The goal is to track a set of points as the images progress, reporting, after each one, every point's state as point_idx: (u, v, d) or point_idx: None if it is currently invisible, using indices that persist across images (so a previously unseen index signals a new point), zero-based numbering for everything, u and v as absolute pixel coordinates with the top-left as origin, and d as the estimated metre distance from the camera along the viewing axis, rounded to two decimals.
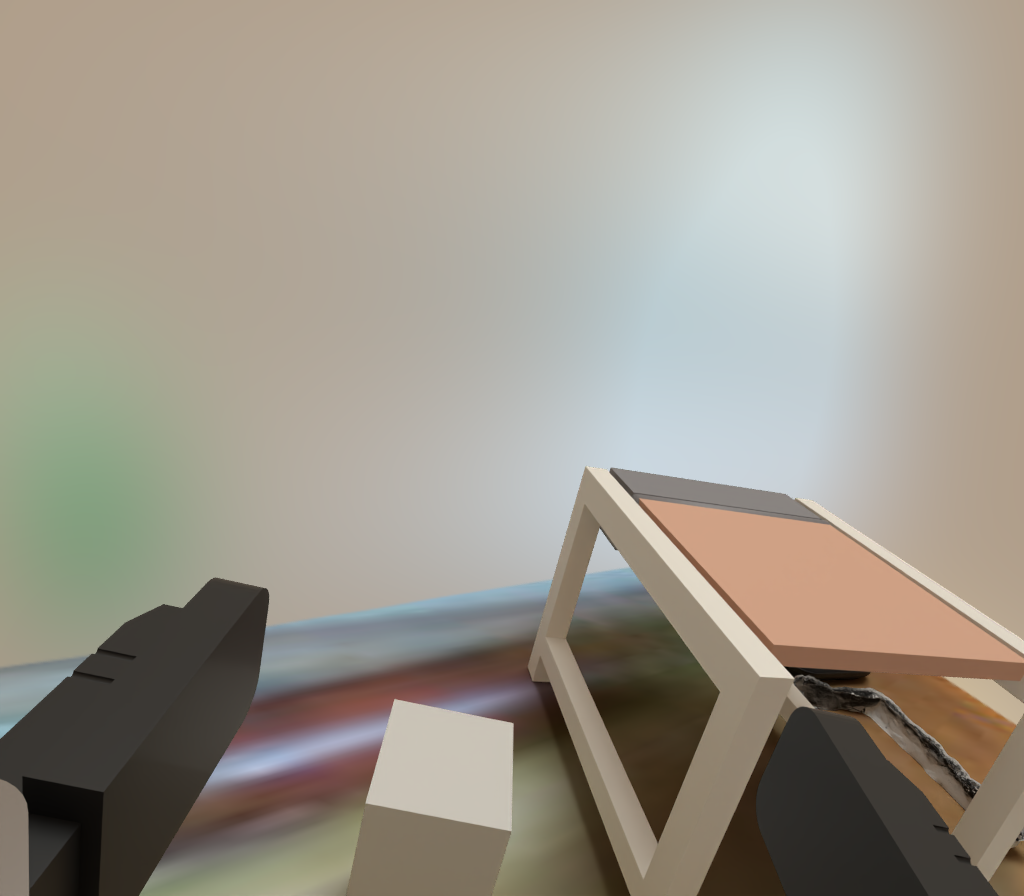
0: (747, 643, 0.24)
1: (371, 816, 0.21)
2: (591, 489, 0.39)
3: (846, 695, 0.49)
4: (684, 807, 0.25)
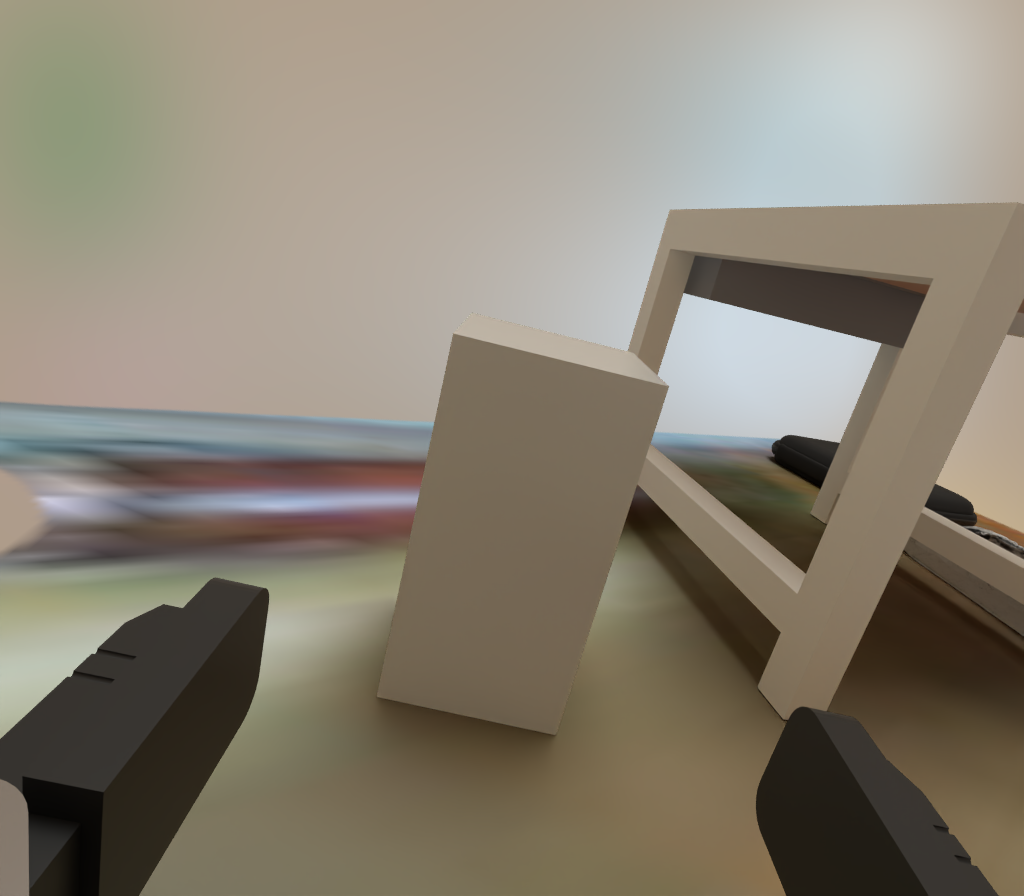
0: None
1: (460, 359, 0.14)
2: (680, 225, 0.32)
3: None
4: (871, 461, 0.18)
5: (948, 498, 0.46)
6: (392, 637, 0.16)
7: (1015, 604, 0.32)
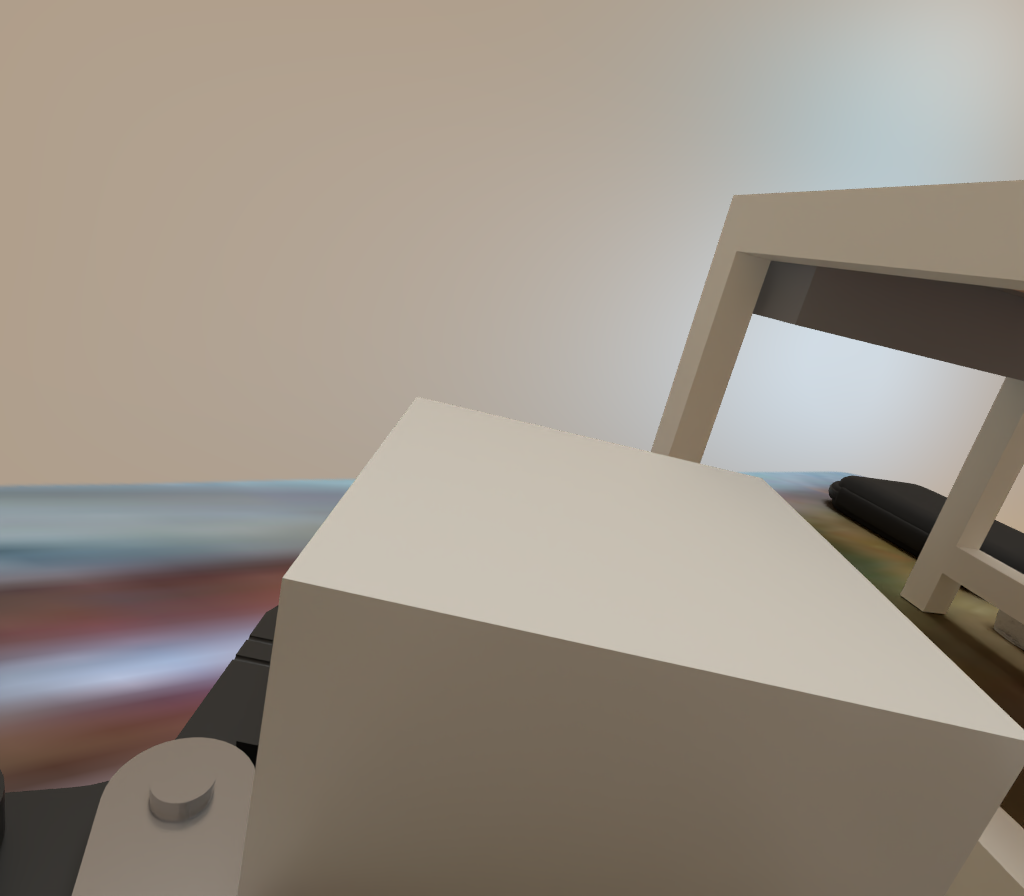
0: None
1: (312, 659, 0.04)
2: (753, 217, 0.22)
3: None
4: None
5: None
6: None
7: None
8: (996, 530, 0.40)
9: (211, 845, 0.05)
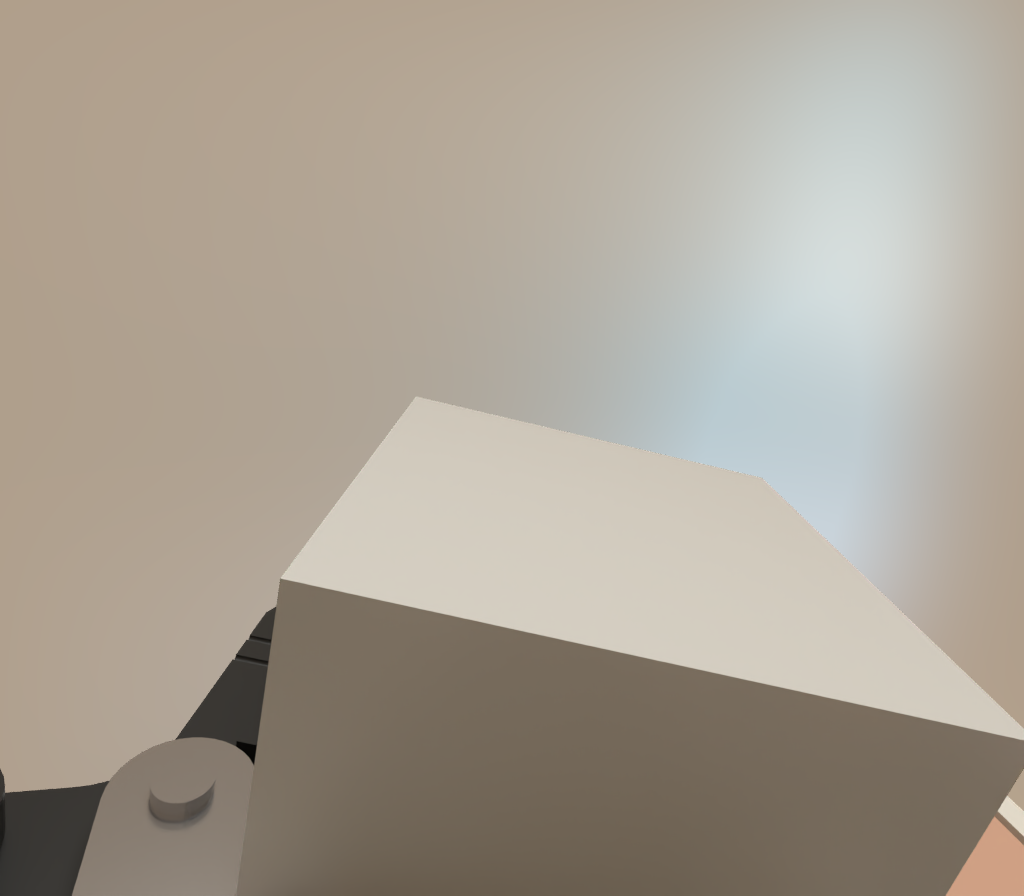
0: None
1: (312, 660, 0.04)
2: None
3: None
4: None
5: None
6: None
7: None
8: None
9: (211, 844, 0.05)
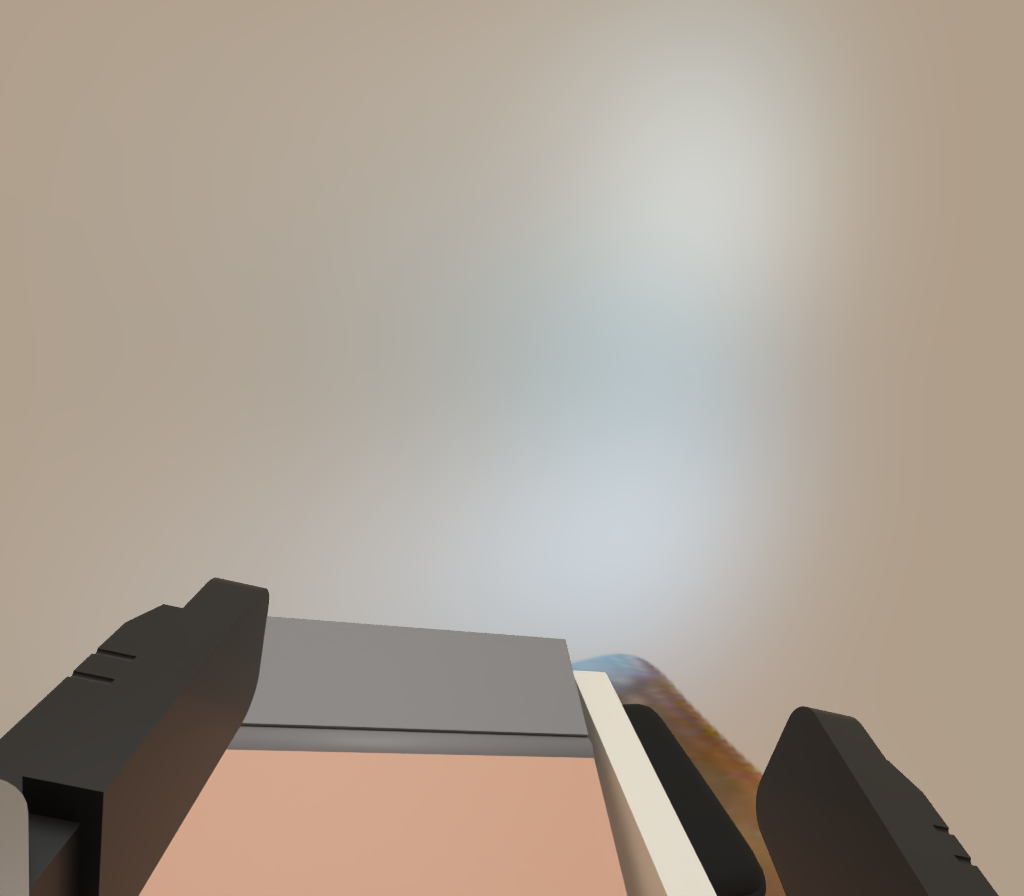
0: None
1: None
2: None
3: None
4: None
5: (719, 875, 0.34)
6: None
7: None
8: (674, 806, 0.37)
9: None
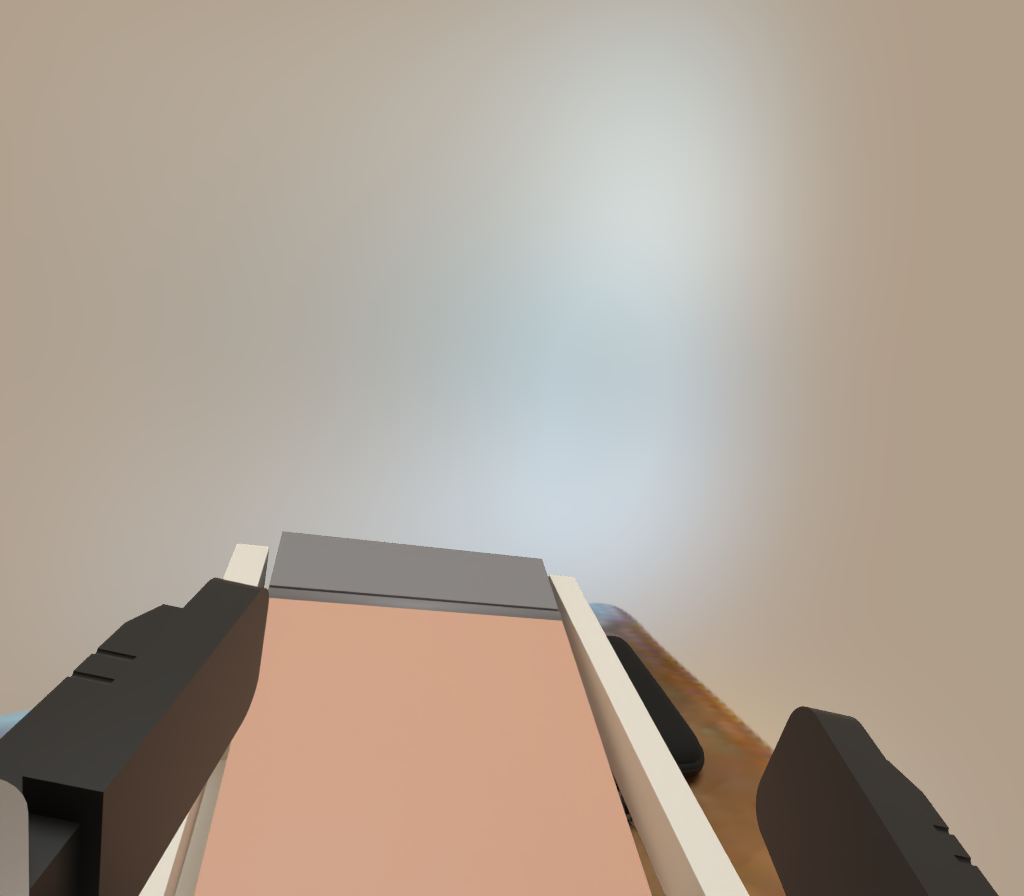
0: None
1: None
2: None
3: None
4: None
5: None
6: None
7: None
8: None
9: None
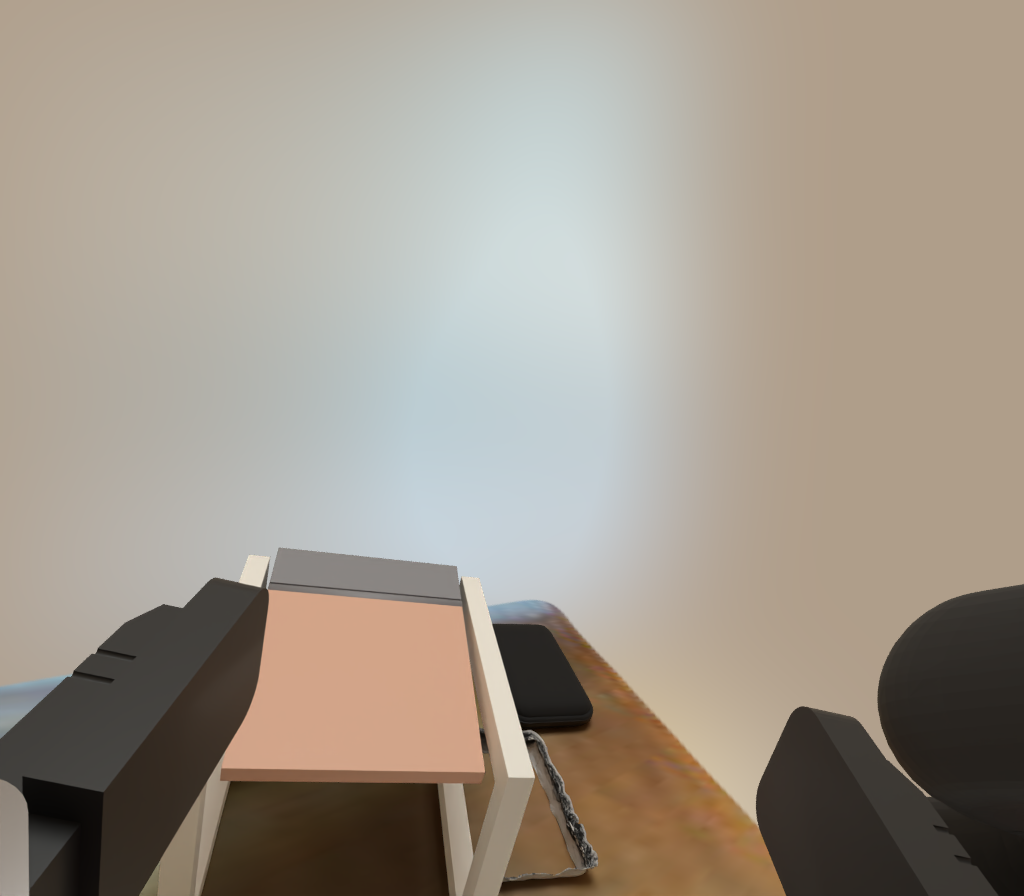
0: None
1: None
2: None
3: None
4: None
5: (562, 703, 0.60)
6: None
7: None
8: (544, 673, 0.64)
9: None
